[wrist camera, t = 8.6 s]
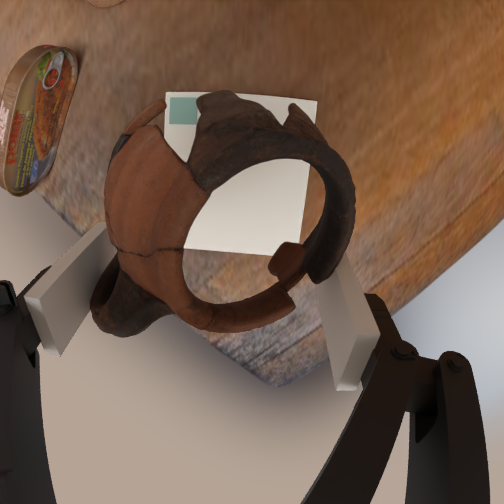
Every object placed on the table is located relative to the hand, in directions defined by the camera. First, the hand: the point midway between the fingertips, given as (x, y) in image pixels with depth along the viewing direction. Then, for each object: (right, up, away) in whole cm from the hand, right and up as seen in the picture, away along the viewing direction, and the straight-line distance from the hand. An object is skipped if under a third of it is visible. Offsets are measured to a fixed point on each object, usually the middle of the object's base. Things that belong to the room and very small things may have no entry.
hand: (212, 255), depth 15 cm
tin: (-19, +14, +11) cm, 26 cm away
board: (0, +7, +14) cm, 16 cm away
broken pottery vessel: (0, +3, 0) cm, 3 cm away
